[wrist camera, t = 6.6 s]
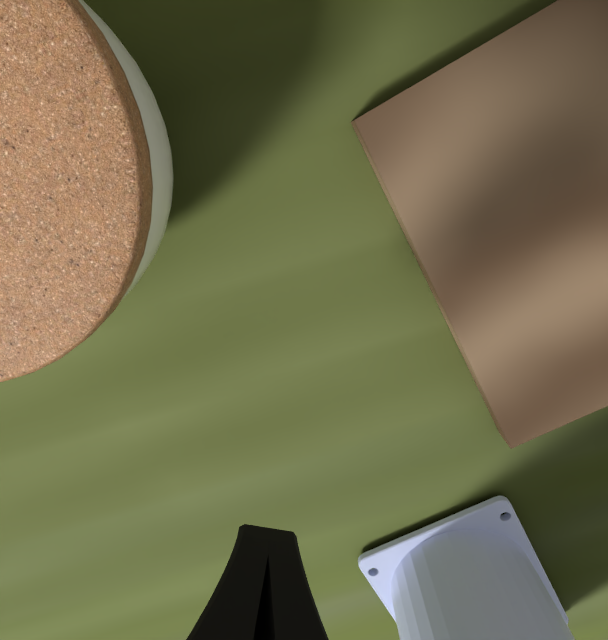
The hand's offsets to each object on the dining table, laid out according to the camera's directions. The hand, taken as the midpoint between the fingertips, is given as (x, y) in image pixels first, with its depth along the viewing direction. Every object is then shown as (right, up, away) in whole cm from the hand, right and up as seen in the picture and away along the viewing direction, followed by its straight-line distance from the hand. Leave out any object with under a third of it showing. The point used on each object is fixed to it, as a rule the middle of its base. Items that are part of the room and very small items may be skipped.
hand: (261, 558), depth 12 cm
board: (+13, +10, +6) cm, 18 cm away
